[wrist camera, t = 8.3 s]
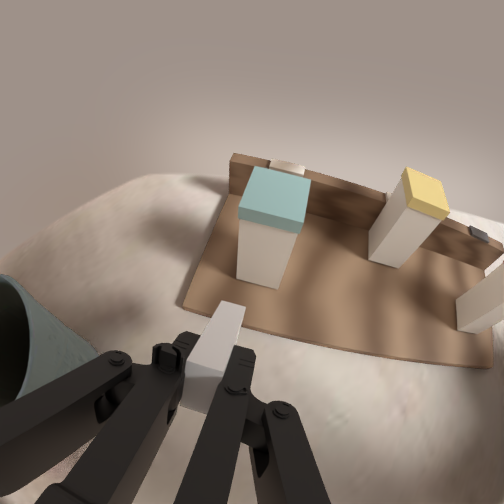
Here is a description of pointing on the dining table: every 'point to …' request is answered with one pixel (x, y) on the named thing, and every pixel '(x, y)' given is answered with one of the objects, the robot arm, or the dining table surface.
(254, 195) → the button
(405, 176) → the middle button
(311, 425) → the dining table surface
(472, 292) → the button
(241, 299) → the button console
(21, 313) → the blue-grey embossed cup
